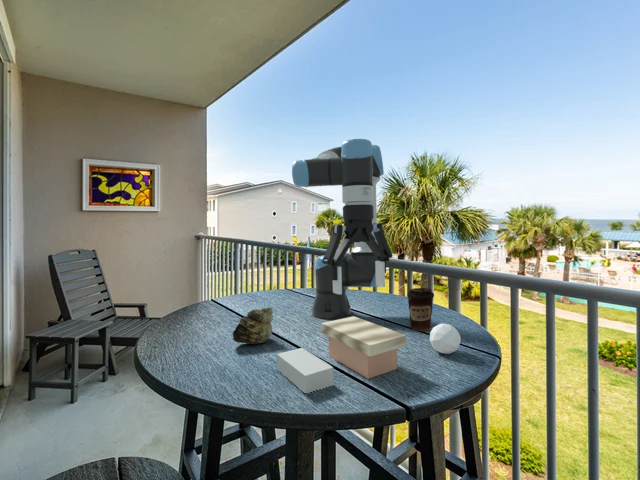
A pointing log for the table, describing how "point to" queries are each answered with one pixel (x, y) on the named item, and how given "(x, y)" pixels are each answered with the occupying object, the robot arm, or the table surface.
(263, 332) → the seashell
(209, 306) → the table surface
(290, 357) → the rubber block
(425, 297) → the coffee cup
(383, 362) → the terracotta dish
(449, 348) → the geometric ball
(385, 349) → the board
